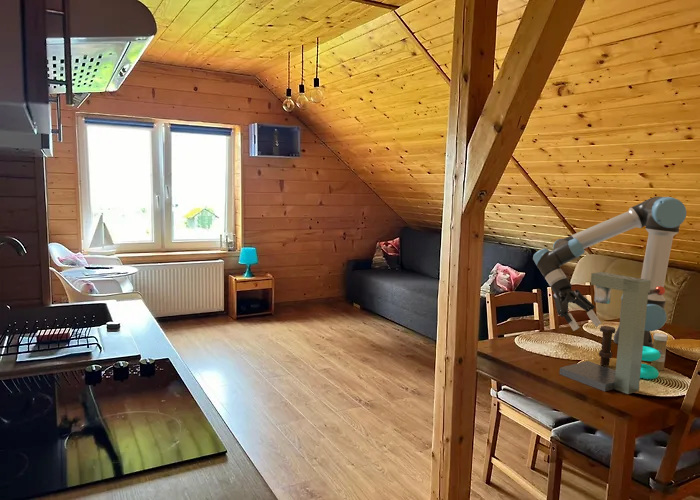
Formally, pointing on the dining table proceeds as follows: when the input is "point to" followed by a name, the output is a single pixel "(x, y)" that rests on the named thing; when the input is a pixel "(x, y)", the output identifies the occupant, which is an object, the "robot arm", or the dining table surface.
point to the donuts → (648, 370)
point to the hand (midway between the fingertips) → (587, 327)
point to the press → (629, 335)
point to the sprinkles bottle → (661, 347)
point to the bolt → (606, 344)
